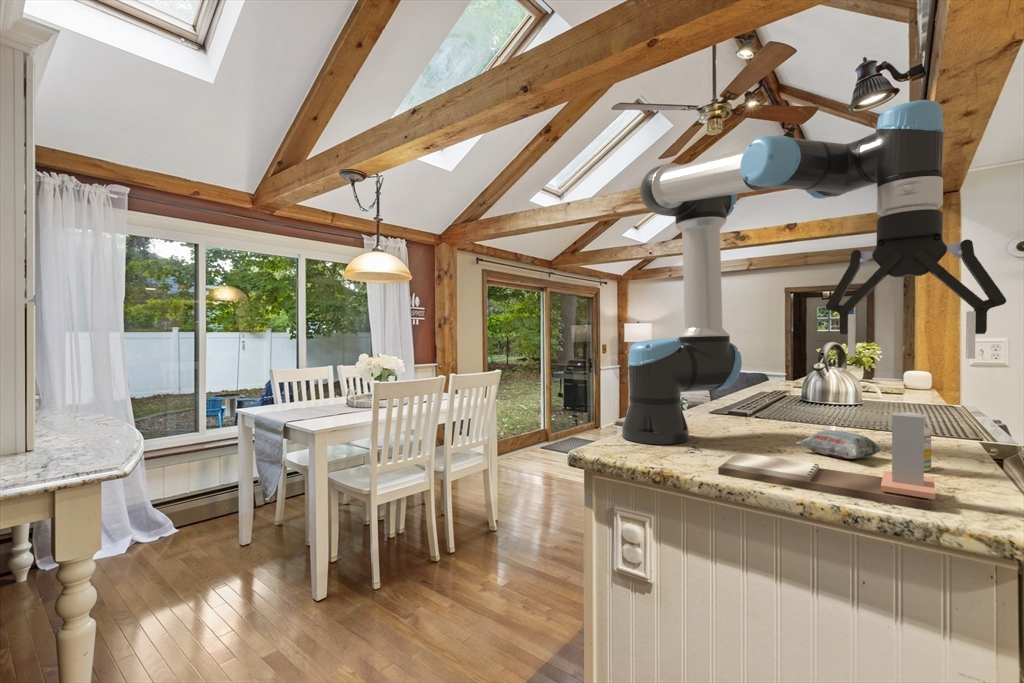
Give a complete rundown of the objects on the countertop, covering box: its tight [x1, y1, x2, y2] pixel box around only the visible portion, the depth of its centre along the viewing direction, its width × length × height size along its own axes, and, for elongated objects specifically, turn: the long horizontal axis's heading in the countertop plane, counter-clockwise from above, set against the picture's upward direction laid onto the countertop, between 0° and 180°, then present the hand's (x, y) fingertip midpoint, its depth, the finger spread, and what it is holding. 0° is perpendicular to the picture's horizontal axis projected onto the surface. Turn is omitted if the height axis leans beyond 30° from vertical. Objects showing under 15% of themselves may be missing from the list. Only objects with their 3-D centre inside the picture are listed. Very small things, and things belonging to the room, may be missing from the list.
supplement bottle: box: [907, 412, 932, 473], centre depth 86 cm, size 5×5×10 cm
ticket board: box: [717, 452, 930, 511], centre depth 79 cm, size 28×10×2 cm, turn 50°
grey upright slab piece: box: [881, 412, 936, 500], centre depth 72 cm, size 6×9×11 cm, turn 140°
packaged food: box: [795, 429, 884, 460], centre depth 95 cm, size 9×12×5 cm
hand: (907, 357), depth 71 cm, fingers open, 13 cm apart
